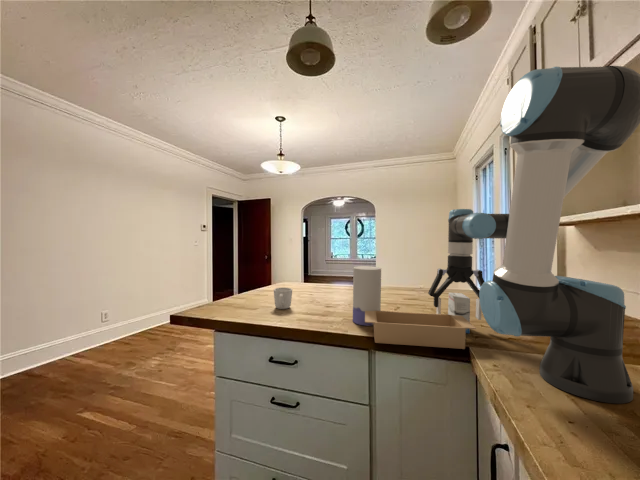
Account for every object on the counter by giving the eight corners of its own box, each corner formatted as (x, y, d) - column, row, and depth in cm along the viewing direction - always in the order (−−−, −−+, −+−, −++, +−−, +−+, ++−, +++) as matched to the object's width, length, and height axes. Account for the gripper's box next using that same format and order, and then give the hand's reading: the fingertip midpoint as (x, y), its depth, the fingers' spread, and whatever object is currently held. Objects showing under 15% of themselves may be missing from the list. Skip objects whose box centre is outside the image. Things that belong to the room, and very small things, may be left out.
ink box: (470, 333, 94) (470, 298, 94) (454, 332, 95) (454, 297, 94) (461, 325, 102) (462, 292, 102) (447, 324, 103) (447, 292, 103)
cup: (290, 312, 116) (290, 292, 116) (270, 312, 116) (270, 292, 116) (293, 305, 127) (293, 287, 127) (275, 305, 127) (275, 287, 127)
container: (385, 321, 106) (386, 267, 105) (370, 328, 98) (371, 270, 98) (362, 316, 112) (363, 265, 112) (347, 321, 105) (347, 267, 104)
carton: (476, 349, 81) (476, 328, 81) (364, 341, 86) (365, 322, 86) (460, 333, 94) (461, 315, 94) (364, 327, 99) (364, 310, 99)
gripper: (493, 254, 100) (491, 316, 100) (420, 253, 103) (419, 312, 104) (504, 256, 92) (501, 323, 93) (424, 254, 96) (423, 318, 97)
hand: (458, 317), depth 98 cm, fingers open, 12 cm apart
